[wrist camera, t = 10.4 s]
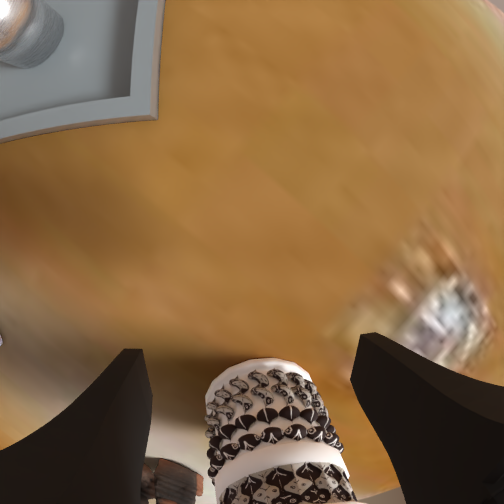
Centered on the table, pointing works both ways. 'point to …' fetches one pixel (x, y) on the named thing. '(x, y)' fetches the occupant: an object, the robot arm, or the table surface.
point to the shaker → (28, 32)
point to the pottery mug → (170, 484)
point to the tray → (88, 71)
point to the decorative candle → (273, 438)
